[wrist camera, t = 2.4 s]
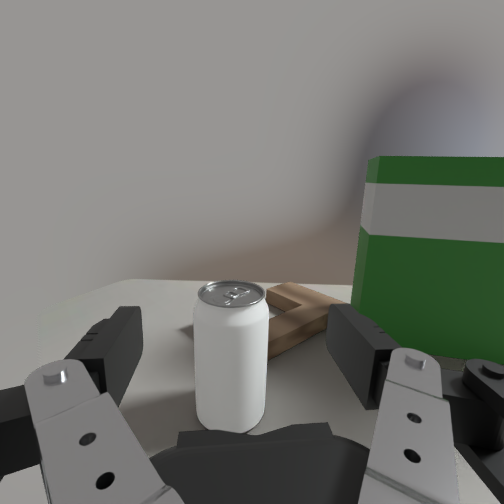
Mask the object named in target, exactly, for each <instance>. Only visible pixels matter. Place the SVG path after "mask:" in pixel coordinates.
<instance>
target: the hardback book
mask: <svg viewBox="0 0 504 504" xmlns="http://www.w3.org/2000/svg"><path fill="white" fill-rule="evenodd" d="M350 305H351V306H352V307H353V308H354V309H355V310H356V311H357V312H358V313H359V314H362V315H364V316H366V317H368V318H370V319H372V320H373V321H374V322H375V323H376V324H377V325H378V326H379V328H382V329H383V330H384V331H385V333H387V334H388V335H389V336H390V337H391V338H392V339H394V340H395V341H396V342H397V343H398V344H399V345H400V346H401V347H402V348H410V349H415V350H418V351H421V352H423V353H426V354H430V355H437V356H445V357H452V358H459V359H466V360H470V359H483V360H488V361H491V362H494V363H497V364H502V365H504V157H423V156H379V157H376V158H373V159H370V160H369V161H368V169H367V177H366V184H365V193H364V201H363V208H362V217H361V224H360V232H359V241H358V249H357V256H356V265H355V272H354V281H353V288H352V296H351V304H350Z"/></svg>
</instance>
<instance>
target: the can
mask: <svg viewBox="0 0 504 504" xmlns="http://www.w3.org/2000/svg"><path fill="white" fill-rule="evenodd" d="M264 296H265V291H264V289H263V288H262V287H260V286H259V285H257V284H255V283H252V282H247V281H242V280H222V281H216V282H212V283H209V284H206V285H204V286H203V287H201V288H200V289H199V291H198V297H199V298H198V300H197V302H196V304H195V307H194V313H193V323H194V361H195V392H196V411H197V416H198V419H199V421H200V422H201V424H202V425H203V426H205V427H206V428H207V429H209V430H216V429H217V430H224V431H230V432H236V433H244V432H247V431H248V430H250V429H251V428H253V427H254V426H255V425H256V424H257V423H258V422H259V421H260V420H261V418H262V416H263V414H264V409H265V394H266V374H267V352H268V329H269V308H268V305H267V303H266V301H265V299H264Z"/></svg>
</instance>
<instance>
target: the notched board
mask: <svg viewBox="0 0 504 504" xmlns="http://www.w3.org/2000/svg"><path fill="white" fill-rule="evenodd" d="M266 302H267V303H269V304H271V305H273V306H275V307H277V308H279V309H281V310H283V311H285V313H282V314H280V315H278V316H275V317H273V318H271V319H269V329H268V352H267V361H268V360H270V359H272V358H273V357H275V356H277V355H279V354H281V353H283V352H284V351H286V350H288V349H290V348H292V347H293V346H295V345H297V344H299V343H301V342H303V341H304V340H306V339H308V338H310V337H312V336H313V335H315V334H317V333H319V332H321V331H322V330H324V329H326V328H327V322H328V312H329V307H330V305H331V304H344V303H345V302H342V301H340V300H337V299H334V298H332V297H329V296H326V295H324V294H321V293H319V292H316V291H313V290H311V289H308V288H305V287H303V286H300V285H297V284H295V283H292V282H287V283H284V284H281V285H277V286H274V287H271V288H268V289H267V292H266Z"/></svg>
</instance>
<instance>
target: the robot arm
mask: <svg viewBox="0 0 504 504" xmlns="http://www.w3.org/2000/svg"><path fill="white" fill-rule="evenodd" d="M326 344H327V348H328V351H329V353H330V354H331V356H332V357H333V359H334V360H335V362H336V364H337V365H338V367H339V368H340V370H341V372H342V373H343V375H344V376H345V378H346V379H347V381H348V383H349V384H350V386H351V387H352V389H353V391H354V392H355V394H356V395H357V397H358V398H359V400H360V402H361V403H362V405H363V406H364V408H365V410H374V409H379V411H378V416H377V421H376V425H375V430H374V435H373V439H372V444H371V449H368V448H367V447H365V446H363V445H361V444H359V443H357V442H355V441H352V440H349V439H347V438H343V437H340V436H335V435H333V434H332V431H331V429H330V427H329V424H328V422H326V423H310V424H295V425H290V426H287V427H284V428H280V429H277V430H274V431H271V432H268V433H264V434H261V435H248V434H242V433H236V432H230V431H224V430H217V429H216V430H201V431H185V432H179V435H178V441H177V446H174V447H171V448H169V449H166V450H164V451H161V452H160V453H158V454H156V455H154V456H152V457H151V458H148V457H147V455H146V453H145V452H144V450H143V448H142V447H141V445H140V443H139V442H138V440H137V438H136V437H135V435H134V433H133V432H132V430H131V428H130V427H129V425H128V424H127V422H126V420H125V419H124V417H123V415H122V414H121V412H120V410H119V409H118V407H119V405H120V403H121V400H122V398H123V396H124V394H125V391H126V389H127V387H128V385H129V383H130V380H131V378H132V376H133V374H134V371H135V369H136V367H137V365H138V363H139V360H140V358H141V355H142V351H143V331H142V316H141V309H140V307H139V306H120V307H119V308H118V309H117V310H116V311H115V313H114V314H113V315H112V316H111V318H110V319H103V320H102V321H100V322H98V323H97V324H95V325H93V326H92V327H91V329H90V330H89V331H88V332H87V333H86V335H84V337H83V338H82V339H81V341H79V342H78V343H77V345H76V346H75V347H74V348H73V349H72V350H71V351H70V353H69V354H68V355H67V356H66V357H65V358H64V359H63V360H59V361H55V362H51V363H49V364H46V365H44V366H42V367H40V368H38V369H36V370H35V371H34V372H32V373H31V374H30V375H29V376H28V377H27V379H26V380H25V383H24V385H21V386H17V387H13V388H8V389H4V390H0V481H1V480H2V478H3V477H4V476H5V475H7V474H11V473H14V472H16V471H20V470H23V469H26V468H28V467H32V466H35V465H38V464H40V469H41V474H42V478H43V483H44V487H45V492H46V496H47V501H48V504H460V499H459V490H458V480H457V471H456V461H455V452H454V446H455V448H456V449H457V450H458V451H459V453H460V454H461V455H462V456H463V458H464V459H465V460H466V461H467V462H468V464H469V465H470V466H471V467H472V469H473V470H474V471H475V472H476V474H477V475H478V476H479V477H480V479H481V480H482V481H483V482H484V483H485V485H486V486H487V487H488V488H489V490H490V491H491V492H492V493H493V495H494V496H495V497H496V498H497V499H498V501H499V502H500V503H501V504H504V366H502V365H500V364H497V363H494V362H491V361H488V360H483V359H470V360H467V362H466V365H465V369H464V372H460V371H454V370H448V369H442V368H440V365H439V363H438V362H437V361H436V360H435V359H434V358H432V357H431V356H429V355H428V354H426V353H423V352H421V351H418V350H415V349H410V348H402V347H401V346H400V345H399V344H398V343H397V342H396V341H395V340H394V339H392V338H391V337H390V336H389V335H388V334H387V333H385V331H384V330H383V329H382V328H379V326H378V325H377V324H376V323H375V322H374V321H373V320H372V319H370V318H368V317H366V316H364V315H362V314H359V313H358V312H357V311H356V310H355V309H354V308H353V307H352V306H351V305H350V304H348V303H344V304H331V305H330V307H329V312H328V322H327V331H326Z"/></svg>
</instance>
